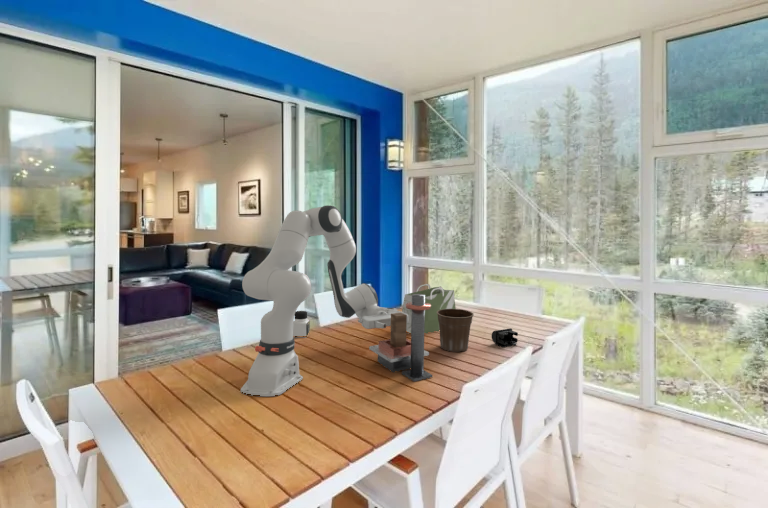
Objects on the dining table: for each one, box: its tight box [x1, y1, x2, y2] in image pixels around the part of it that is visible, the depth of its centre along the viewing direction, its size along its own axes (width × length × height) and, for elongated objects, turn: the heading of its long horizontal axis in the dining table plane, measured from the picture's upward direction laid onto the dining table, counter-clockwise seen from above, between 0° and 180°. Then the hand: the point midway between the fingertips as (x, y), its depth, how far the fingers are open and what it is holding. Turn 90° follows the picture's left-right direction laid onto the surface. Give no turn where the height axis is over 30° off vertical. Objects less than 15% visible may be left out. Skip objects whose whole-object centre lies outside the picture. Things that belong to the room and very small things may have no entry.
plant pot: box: [437, 308, 474, 353], centre depth 179 cm, size 16×16×16 cm
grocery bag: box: [401, 283, 457, 334], centre depth 212 cm, size 32×14×23 cm, turn 130°
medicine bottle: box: [293, 310, 311, 337], centre depth 196 cm, size 7×7×12 cm
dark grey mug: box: [491, 328, 519, 348], centre depth 186 cm, size 10×7×7 cm
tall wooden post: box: [389, 313, 407, 348], centre depth 157 cm, size 4×4×14 cm
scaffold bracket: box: [368, 294, 433, 382], centre depth 153 cm, size 26×17×30 cm, turn 30°
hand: (394, 324), depth 160 cm, fingers open, 8 cm apart
